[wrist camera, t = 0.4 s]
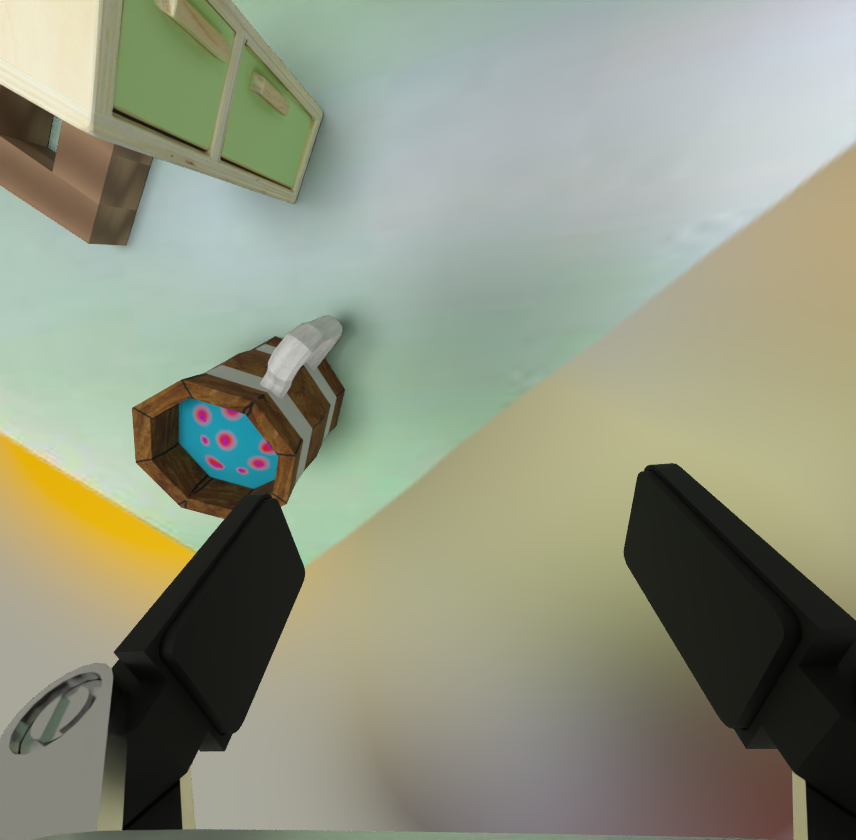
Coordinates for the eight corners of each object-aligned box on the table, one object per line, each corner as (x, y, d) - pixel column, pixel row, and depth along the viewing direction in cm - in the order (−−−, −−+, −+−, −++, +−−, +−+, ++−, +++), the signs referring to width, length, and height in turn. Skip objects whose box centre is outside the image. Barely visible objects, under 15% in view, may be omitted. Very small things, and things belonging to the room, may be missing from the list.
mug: (308, 459, 45) (249, 546, 31) (214, 396, 41) (103, 464, 28) (399, 350, 38) (376, 400, 24) (297, 263, 34) (202, 266, 21)
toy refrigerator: (302, 212, 32) (104, 146, 13) (227, 166, 31) (-112, 21, 12) (333, 118, 29) (132, -143, 10) (252, 63, 28) (-157, -358, 9)
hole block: (16, 9, 27) (-51, -31, 23) (163, 123, 30) (124, 105, 26) (-4, 157, 31) (-62, 144, 28) (126, 245, 34) (88, 243, 30)
